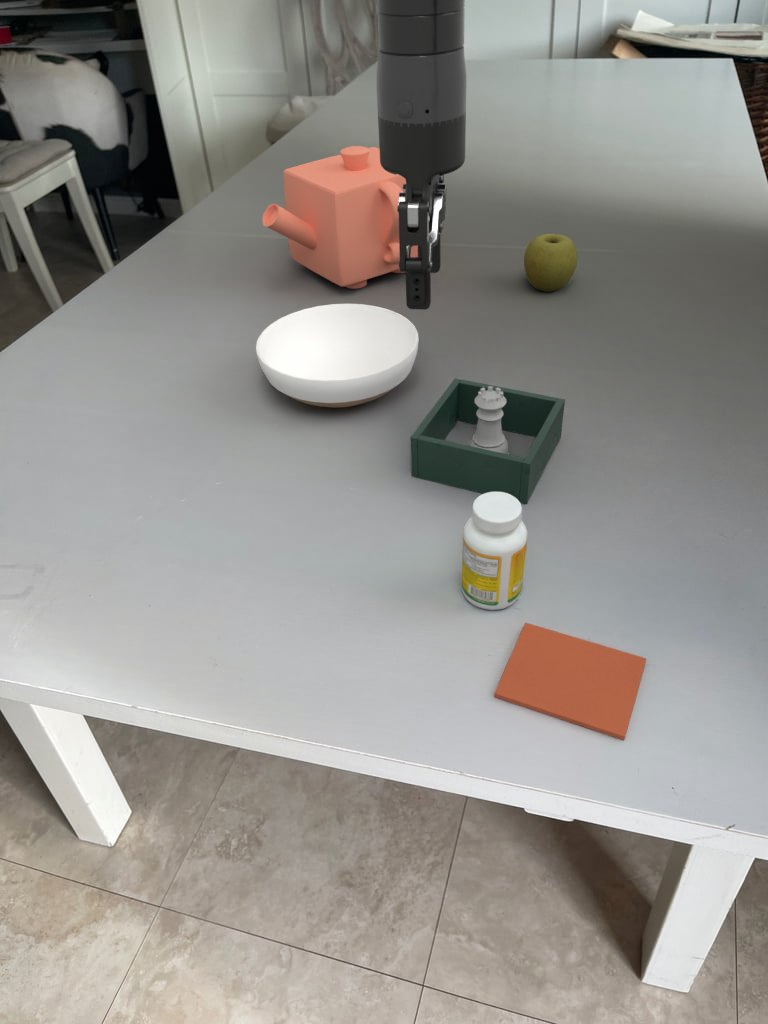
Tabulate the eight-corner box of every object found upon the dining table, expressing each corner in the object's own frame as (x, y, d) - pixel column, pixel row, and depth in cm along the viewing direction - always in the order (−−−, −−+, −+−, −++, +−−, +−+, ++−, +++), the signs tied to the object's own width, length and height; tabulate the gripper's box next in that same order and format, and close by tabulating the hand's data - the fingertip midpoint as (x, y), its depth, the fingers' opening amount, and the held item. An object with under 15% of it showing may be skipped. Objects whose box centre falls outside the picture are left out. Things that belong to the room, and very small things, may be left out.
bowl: (232, 382, 102) (224, 338, 98) (353, 332, 111) (350, 289, 107) (325, 447, 90) (320, 400, 86) (452, 384, 99) (452, 339, 95)
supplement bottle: (472, 617, 69) (475, 533, 63) (453, 575, 73) (454, 492, 67) (531, 604, 70) (540, 520, 64) (509, 564, 74) (515, 481, 68)
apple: (580, 279, 121) (585, 232, 116) (566, 301, 115) (571, 252, 111) (531, 272, 123) (534, 226, 119) (515, 293, 118) (518, 246, 113)
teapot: (315, 322, 114) (301, 193, 102) (238, 273, 128) (219, 155, 117) (451, 273, 124) (452, 152, 113) (367, 233, 139) (360, 122, 127)
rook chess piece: (517, 460, 86) (522, 395, 81) (482, 473, 85) (485, 409, 80) (492, 440, 89) (495, 377, 84) (458, 453, 88) (460, 389, 83)
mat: (645, 662, 65) (646, 658, 64) (624, 740, 59) (625, 736, 59) (525, 626, 68) (525, 622, 68) (494, 697, 63) (494, 693, 62)
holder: (560, 437, 89) (565, 399, 86) (526, 504, 81) (530, 464, 77) (454, 415, 94) (454, 377, 90) (411, 476, 85) (410, 437, 82)
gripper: (458, 130, 62) (455, 323, 73) (472, 88, 73) (468, 260, 84) (363, 130, 64) (374, 320, 74) (390, 89, 74) (397, 259, 85)
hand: (424, 288), depth 79 cm, fingers open, 8 cm apart
